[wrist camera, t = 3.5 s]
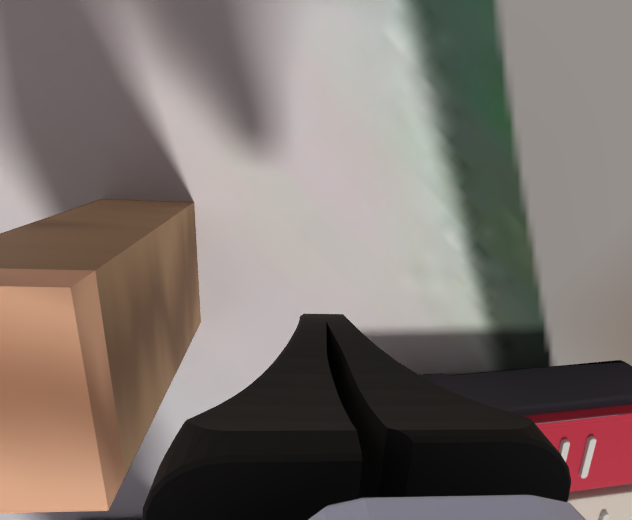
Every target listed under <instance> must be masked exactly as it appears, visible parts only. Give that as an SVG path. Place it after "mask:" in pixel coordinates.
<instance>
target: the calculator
mask: <svg viewBox="0 0 632 520" xmlns="http://www.w3.org/2000/svg"><path fill="white" fill-rule="evenodd" d="M420 376H421V377H423V378H425V379H427V380H429V381H431V382H433V383H435V384H437V385H439V386H441V387H443V388H445V389H447V390H450V391H452V392H454V393H456V394H459V395H461V396H464V397H466V398H469V399H472V400H474V401H477V402H479V403H482V404H485V405H488V406H491V407H494V408H498V409H501V410H504V411H508V412H511V413H514V414H518V415H521V416H524V417H528V418H530V419H531V420H532V421H533V422H534V423H535V424H536V425H537V427H538V428H539V429H540V430H541V431H542V432H543V434H544V435H545V436H546V437H547V438H548V440H549V441H550V442H551V443H552V444H553V446H554V447H555V448H556V449H557V450H558V452H559V453H560V454H561V455H562V457H563V459H564V460H565V462H566V463H567V465H568V467H569V471H570V477H571V487H570V493H569V498H568V501H567V502H568V503H571V504H572V506H573V507H574V508H575V509H576V510H577V511H578V512H579V513H580V514H581V515H582V516H583V517H584V518H585V519H586V520H632V366H630V365H629V364H627V363H626V362H624V361H622V360H614V361H604V362H593V363H582V364H572V365H561V366H553V367H542V368H530V369H519V370H509V371H498V372H487V373H477V374H466V375H455V376H449V375H445V374H425V375H420Z"/></svg>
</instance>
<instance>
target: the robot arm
mask: <svg viewBox="0 0 632 520" xmlns="http://www.w3.org/2000/svg"><path fill="white" fill-rule="evenodd" d="M570 487H571V477H570V471H569V467H568V465H567V463H566V462H565V460H564V459H563V457H562V455H561V454H560V453H559V452H558V450H557V449H556V448H555V447H554V446H553V444H552V443H551V442H550V441H549V440H548V438H547V437H546V436H545V435H544V434H543V432H542V431H541V430H540V429H539V428H538V427H537V425H536V424H535V423H534V422H533V421H532V420H531V419H530V418H528V417H524V416H521V415H518V414H514V413H511V412H508V411H504V410H501V409H498V408H494V407H491V406H488V405H485V404H482V403H479V402H477V401H474V400H472V399H469V398H466V397H464V396H461V395H459V394H456V393H454V392H452V391H450V390H447V389H445V388H443V387H441V386H439V385H437V384H435V383H433V382H431V381H429V380H427V379H425V378H423V377H421V376H420V375H418V374H416V373H414V372H413V371H411V370H410V369H408V368H406V367H405V366H403V365H402V364H400V363H399V362H397V361H396V360H394V359H393V358H391V357H390V356H389V355H388V354H386V353H385V352H384V351H382V350H381V349H380V348H378V347H377V346H376V345H375V344H374V343H372V342H371V341H370V340H369V339H368V338H367V337H366V336H365V335H364V334H362V333H361V332H360V331H359V330H358V329H357V328H356V327H355V326H354V325H353V324H352V323H351V322H350V321H349V320H348V319H347V318H346V317H345V316H344V315H343V314H303V315H302V316H301V317H300V320H299V324H298V326H297V328H296V330H295V332H294V334H293V336H292V337H291V339H290V341H289V343H288V344H287V346H286V347H285V348H284V350H283V351H282V352H281V354H280V355H279V356H278V358H277V359H276V360H275V361H274V362H273V364H272V365H271V366H270V367H269V368H268V369H267V370H266V371H265V372H264V373H263V374H262V375H261V376H260V377H259V378H258V379H256V380H255V381H254V382H253V383H252V384H251V385H249V386H248V387H247V388H245V389H244V390H243V391H241V392H240V393H238V394H237V395H235V396H233V397H232V398H230V399H228V400H227V401H225V402H223V403H222V404H220V405H218V406H216V407H214V408H212V409H210V410H207V411H205V412H203V413H201V414H199V415H197V416H195V417H193V418H190V419H188V420H186V421H185V423H184V424H183V426H182V427H181V429H180V431H179V432H178V434H177V435H176V437H175V439H174V440H173V442H172V444H171V446H170V448H169V449H168V451H167V453H166V454H165V456H164V458H163V460H162V462H161V464H160V466H159V469H158V471H157V474H156V476H155V479H154V481H153V484H152V486H151V489H150V492H149V494H148V497H147V499H146V502H145V504H144V507H143V519H142V520H586V519H585V518H584V517H583V516H582V515H581V514H580V513H579V512H578V511H577V510H576V509H575V508H574V507H573V506H572V504H571V503H568V502H567V501H568V498H569V493H570Z"/></svg>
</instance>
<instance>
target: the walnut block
mask: <svg viewBox="0 0 632 520" xmlns="http://www.w3.org/2000/svg"><path fill="white" fill-rule="evenodd" d="M200 323H201V318H200V300H199V282H198V264H197V246H196V228H195V211H194V202H171V201H141V200H112V199H101V200H98V201H95V202H92V203H89V204H86V205H83V206H80V207H77V208H74V209H71V210H68V211H65V212H63V213H60V214H57V215H54V216H51V217H48V218H45V219H42V220H39V221H36V222H33V223H30V224H27V225H24V226H21V227H18V228H15V229H13V230H10V231H7V232H4V233H1V234H0V513H30V512H77V511H109V509H110V507H111V505H112V503H113V501H114V499H115V496H116V494H117V492H118V490H119V488H120V486H121V484H122V482H123V480H124V478H125V476H126V474H127V472H128V470H129V468H130V466H131V464H132V462H133V460H134V458H135V456H136V454H137V451H138V449H139V447H140V445H141V443H142V441H143V439H144V437H145V435H146V433H147V431H148V429H149V427H150V425H151V423H152V421H153V419H154V417H155V415H156V413H157V411H158V409H159V406H160V404H161V402H162V400H163V398H164V396H165V394H166V392H167V390H168V388H169V386H170V384H171V382H172V380H173V378H174V376H175V374H176V372H177V370H178V368H179V366H180V364H181V361H182V359H183V357H184V355H185V353H186V351H187V349H188V347H189V345H190V343H191V341H192V339H193V337H194V335H195V333H196V331H197V329H198V327H199V325H200Z"/></svg>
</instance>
